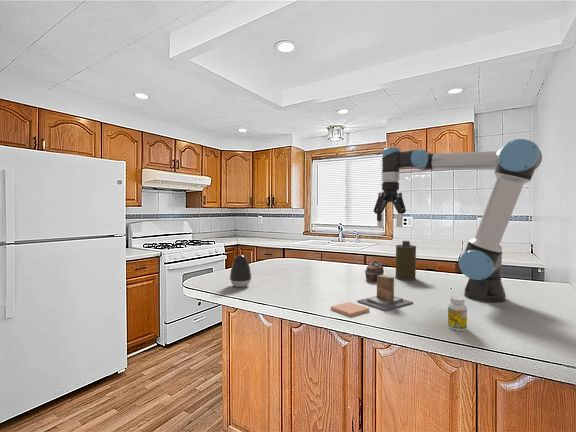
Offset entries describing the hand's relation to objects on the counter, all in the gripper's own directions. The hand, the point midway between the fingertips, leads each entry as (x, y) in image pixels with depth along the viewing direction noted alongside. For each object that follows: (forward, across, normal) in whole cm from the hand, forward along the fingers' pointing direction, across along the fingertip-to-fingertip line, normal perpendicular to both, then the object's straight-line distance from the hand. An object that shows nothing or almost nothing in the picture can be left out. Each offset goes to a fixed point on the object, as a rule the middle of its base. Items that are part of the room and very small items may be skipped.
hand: (390, 227), depth 154 cm
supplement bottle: (+29, +22, +44) cm, 57 cm away
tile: (+28, +33, +12) cm, 45 cm away
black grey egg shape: (+29, +55, -44) cm, 76 cm away
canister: (+29, -26, -10) cm, 40 cm away
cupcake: (+29, -8, -16) cm, 34 cm away
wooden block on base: (+28, +19, +13) cm, 36 cm away
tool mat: (+29, +19, +13) cm, 37 cm away
